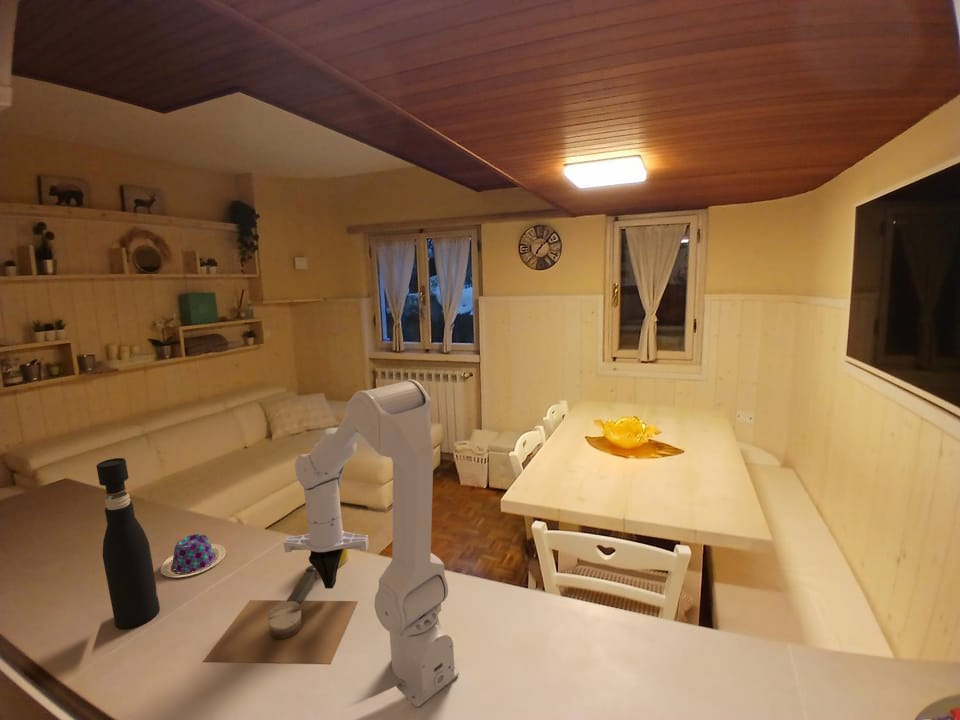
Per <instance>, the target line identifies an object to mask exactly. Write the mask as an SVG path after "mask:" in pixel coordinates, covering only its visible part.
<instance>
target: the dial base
mask: <svg viewBox="0 0 960 720" xmlns="http://www.w3.org/2000/svg"><path fill="white" fill-rule="evenodd" d="M286 601H287V599H285V600H283V599H282V600H280V599H278V600H277V599H276V600H275V599H271V600H270V599H268V600H265V599H263V600H262V599H253V600H252V599H249V600H248V601H247V603H246V604H245V606H244V607H243V608H242V609H241V611H240V612H239V614H238V615H237V616H236V617H235V618H234V620H233V621H232V623H231V624H230V625H229V627H228V628H227V629H226V631H225V632H224V633H223V634H222V635H221V637H220V638H219V640H217V642H216V643H215V644H214V646H213V648H211V649H210V651H209V653H207V655H206V656H205V658H204V659H203V660H202V663H238V664H239V663H240V664H242V663H246V664H248V663H250V664H301V665H302V664H303V665H309V664H311V665H312V664H313V665H331V664H332V662H333V660H334V658H335V655H336V653H337V651H338V648H339V646H340V644H341V642H342V639H343V637H344V635H345V633H346V630H347V627H348V626H349V623H350V620H351V619H352V616H353V614H354V612H355V609H356V607H357V605H358V603H359V600H303V602H302V604H301V605H300V607H301V616H302V627H301V628H300V630H299V631H298V632H297V633H295V634H294V635H292V636H290V637H287V638H283V639H277V638H274V637H272V636H271V634H270V629H269V620H268V614H269V612H270V610H271V609H272V608H273V607H275V606H276V605H278V604H280V603H283V602H286Z"/></svg>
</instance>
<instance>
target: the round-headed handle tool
mask: <svg viewBox="0 0 960 720" xmlns="http://www.w3.org/2000/svg"><path fill="white" fill-rule="evenodd" d="M318 578H319V573H318V571H317V570H316V569H315V567H314V566H313V565H310V566H308V567H306V569H305V572H304V573H303V575H302V577H300V579H299V581H298V582H297V584H296V586H295V587H294V589H293V590H292V592H291V593H290V595H289V596H288V598H287V599H286V600H287V601H286V602H283V603H280V604H278V605H276V606H275V607H273V608H272V609H271V610H270V612H269V614H268V620H269V629H270V634H271V636H272V637H274V638H277V639H283V638H287V637H290V636H292V635H294V634H295V633H297V632H298V631H299V630H300V628H301V627H302V616H301V607H300V605H301V604H302V602H303V601H305V598H307V595H308V593H309V592H310V590H311V589H312V587H313V585H314V584H315V582H316V581H317V580H318Z"/></svg>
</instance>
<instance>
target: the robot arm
mask: <svg viewBox="0 0 960 720" xmlns="http://www.w3.org/2000/svg"><path fill="white" fill-rule="evenodd" d="M432 404H433V401H432V398H430V396H429V394H428V393H427V392H426V390H425V389H424V387H423V386H422V385H421V384H420V383H419V382H418V381H416V380H415V379H411V378H409V379H405V380H403V381H401V382H396V383H392V384H388V385H384V386H380V387H377V388H376V387H375V388H372V389H367V390H364V389H363V390H359V391H356V392H354V393H353V394H352V397H351V398H350V399H349V400H348V401H347V404H346V405H347V413H346V415H345V417H344V418H343V419H342V421H341V422H340V424H339V426H338V427H330V428H327V429H325V430H324V431H323V432H322V437H321V438H320V440H318V442H317V443H314V445H313V447H312V450H310V451H309V453H307V454H304V453H303V454H299V455H297V458H296V459H295V463H294V471H295V476H296V477H297V480H298V483H299V484H300V486H301V487H302V488H303V492H304V502H305V512H306V521H307V522H306V523H307V531H308V533H306V534H301V535H293V536H288V537H287V538H286V539H285V540H284V542H283V544H284V546H283V547H284V553H292V552H293V551H310V555H309V556H308V562H309V564H310V565H311V566H314V567H315V569H316V570H317V573H318V576H320V578H321V580H322V583H323V585H324V589H326V590H327V589H334V587H335V585H336V582H337V575H338V569H339V567H338V565H339V561H340V558H341V555H342V552H343V550H344V549H347V550H354V549H355V550H360V552H361V551H363V552H365V551H367V549H369V545H370V544H369V535H368V534H360V533H359V534H358V533H352V532H348V531H344V530H343V529H342V527H343V520H342V511H341V501H340V500H341V499H340V490H339V489H341V488H342V485H343V484H342V478H343V475H344V472H345V465H346V464H347V463H348V462H349V461H350V459H351V458H352V457H353V456H354V455H355V454H356V452H357V448H358V446H357V442H358V441H359V440H360V439H362V438H363V439H365V441H366V442H367V443H368V444H369V446H371V448H373V450H375V452H376V453H378V455H379V456H383V457H386V458H390V459H391V460H392V542H391V543H392V549H391V550H392V557H391V561H390V563H389V564H388V566H387V567H386V568H385V570H384V571H383V573H382V574H381V576H380V577H379V579H378V589H377V592H376V593H375V597H374V611H375V614H376V617H377V619H378V622H379V623H380V625H381V626H382V627H383V629H385V630H386V631H387V632H389V643H390V645H389V646H390V657H391V660H390V661H391V669H392V673H394V675H395V676H396V677H397V678H398V679H400V680H402V681H403V682H401V683H399V684H397V685H395V687H396V688H397V689H398V690H399V691H400V692H401V693H402V694H403V695H404V697H406V698H407V699H408V700H409V701H410V702H411V703H412V704H413V705H414V707H420V706H422V705H423V704H424V703H426V702H427V701H428V700H429V699H430V698H432V697H433V696H434V695H436V694H437V693H438V692H439V691H441V690H442V689H443V688H444V687H446V685H448V684H449V683H451V682H452V681H453V680H455V678H457V677H458V676H459V675H460V673H459V670H458V669H457V668H456V667H455V656H454V655H455V652H454V641H453V639H452V636H451V635H449V634H448V633H447V632H446V630H445V629H444V627H443V626H442V624H441V622H440V618H439V613H441V611H442V603H444V602H445V601H446V599H447V598H448V596H449V585H448V580H447V577H446V575H445V564H444V563H443V561H442V560H441V559H440V558H439V557H438V556H436V555H435V554H434V553H432V547H431V546H432V521H433V520H432V519H433V518H432V517H433V515H432V514H433V511H432V510H433V482H434V481H433V480H434V476H433V475H434V443H433V439H432V406H433V405H432ZM342 530H343V531H344V532H343V531H342Z"/></svg>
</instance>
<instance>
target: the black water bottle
mask: <svg viewBox="0 0 960 720" xmlns="http://www.w3.org/2000/svg"><path fill="white" fill-rule="evenodd" d="M96 471H97V478H98V482H99V483H98V484H99V486H102V487H103V486H104V487H105V491H106V492H105V494H106V497H105V500H104V503H105V509H104V513H105V520H106V529H105V532H104V536H103V540H102V541H103V542H102V560H103V561H102V562H103V565H104V571H105V576H106V582H107V587H108V593H109V598H110V605H111V609H112V615H113V619H114V620H113V621H114V625H115V628H116V629H118V630H121V631H128V630H134V629H137V628H140V627H142V626H144V625H147V624H149V623H150V622H151V621H152V620H153V619H155V618H156V617H157V616H158V615H159V614H160V609H161V607H160V603H159V602H160V601H159V596H158V588H157V583H156V577H155V571H154V567H153V566H154V565H153V558H152V553H151V547H150V546H151V545H150V542H149V540H148V537H147V535H146V532H145V530H144V529H143V526H142V525H141V524H140V522H139V521H138V519H137V518H136V517H135V515H136V514H135V510H134V504H133V501H131V498H130V497H131V496H130V494H129V492H128V491H127V488H126V485H125V481H127V480H129V472H128V466H127V460H126V458H123V457H116V458H110V459H106V460H103V461H100V462H99V463H97V464H96Z"/></svg>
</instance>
